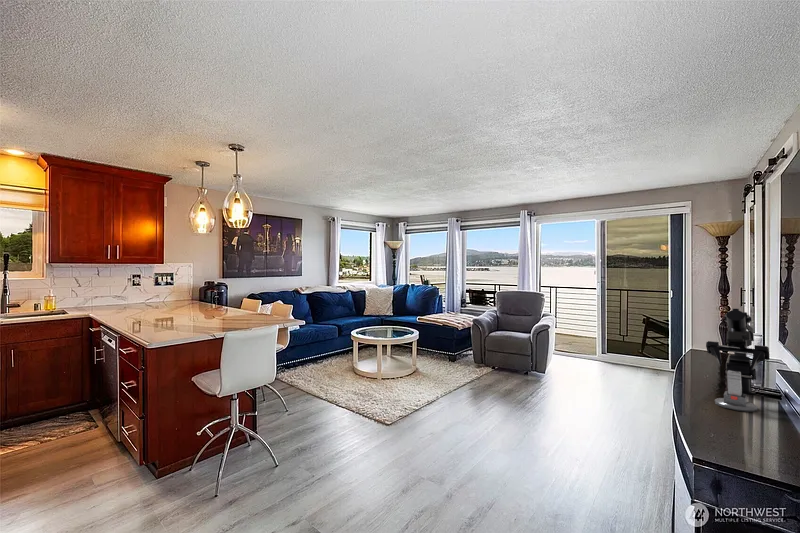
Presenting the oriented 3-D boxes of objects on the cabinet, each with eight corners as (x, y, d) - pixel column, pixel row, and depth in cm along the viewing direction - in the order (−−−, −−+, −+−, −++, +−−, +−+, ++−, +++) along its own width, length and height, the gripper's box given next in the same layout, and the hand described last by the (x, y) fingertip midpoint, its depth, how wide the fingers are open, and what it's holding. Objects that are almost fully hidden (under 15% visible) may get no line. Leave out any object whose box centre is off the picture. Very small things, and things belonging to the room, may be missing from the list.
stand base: (717, 399, 147) (716, 387, 147) (758, 406, 138) (758, 394, 138) (712, 406, 138) (712, 394, 139) (756, 414, 130) (756, 401, 130)
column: (729, 400, 141) (727, 370, 141) (742, 402, 138) (741, 371, 139) (728, 402, 138) (726, 371, 139) (741, 404, 135) (740, 373, 136)
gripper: (705, 322, 155) (702, 351, 147) (767, 325, 141) (768, 358, 133) (709, 338, 160) (706, 367, 152) (769, 343, 146) (769, 375, 138)
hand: (735, 367), depth 144 cm, fingers open, 9 cm apart
